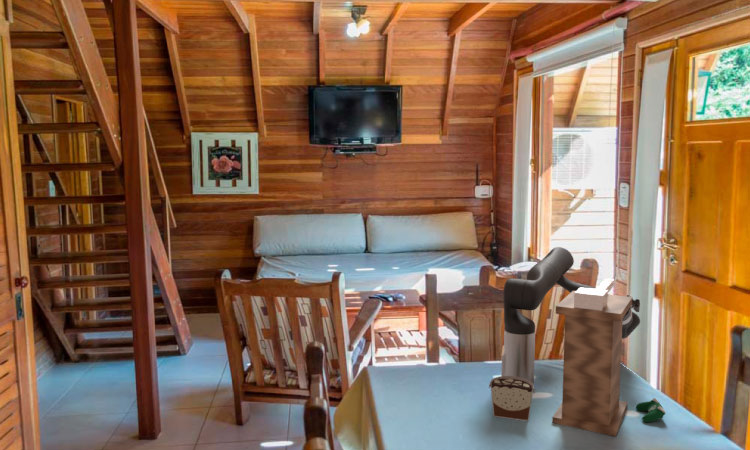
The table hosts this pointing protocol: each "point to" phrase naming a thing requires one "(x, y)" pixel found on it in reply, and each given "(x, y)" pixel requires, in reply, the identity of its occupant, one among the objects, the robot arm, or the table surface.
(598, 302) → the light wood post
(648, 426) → the table surface
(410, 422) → the table surface
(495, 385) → the food container
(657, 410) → the gaming controller
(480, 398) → the table surface
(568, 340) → the stand
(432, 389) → the table surface
